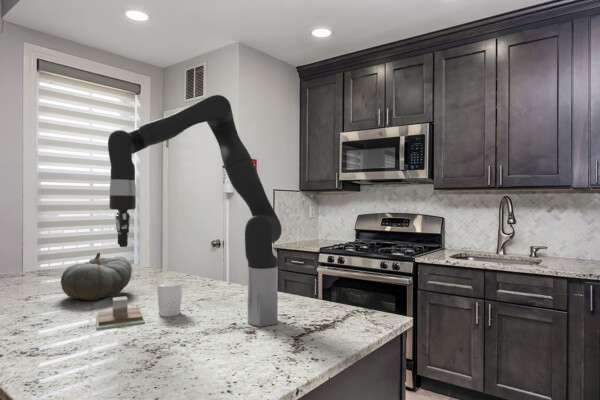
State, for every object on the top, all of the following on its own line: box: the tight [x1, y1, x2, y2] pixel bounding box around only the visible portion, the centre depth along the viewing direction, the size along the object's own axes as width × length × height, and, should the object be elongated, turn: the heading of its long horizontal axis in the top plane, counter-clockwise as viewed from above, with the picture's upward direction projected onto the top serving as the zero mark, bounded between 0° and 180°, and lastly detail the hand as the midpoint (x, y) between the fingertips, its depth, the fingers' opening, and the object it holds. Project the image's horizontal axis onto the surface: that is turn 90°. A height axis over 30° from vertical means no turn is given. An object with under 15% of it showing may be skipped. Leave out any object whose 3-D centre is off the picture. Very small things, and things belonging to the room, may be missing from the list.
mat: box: [95, 308, 146, 331], centre depth 120 cm, size 16×13×1 cm
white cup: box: [156, 281, 183, 318], centre depth 126 cm, size 8×8×10 cm
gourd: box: [60, 252, 133, 302], centre depth 149 cm, size 25×25×17 cm
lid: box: [97, 295, 144, 326], centre depth 120 cm, size 12×12×6 cm
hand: (122, 245), depth 121 cm, fingers open, 8 cm apart
